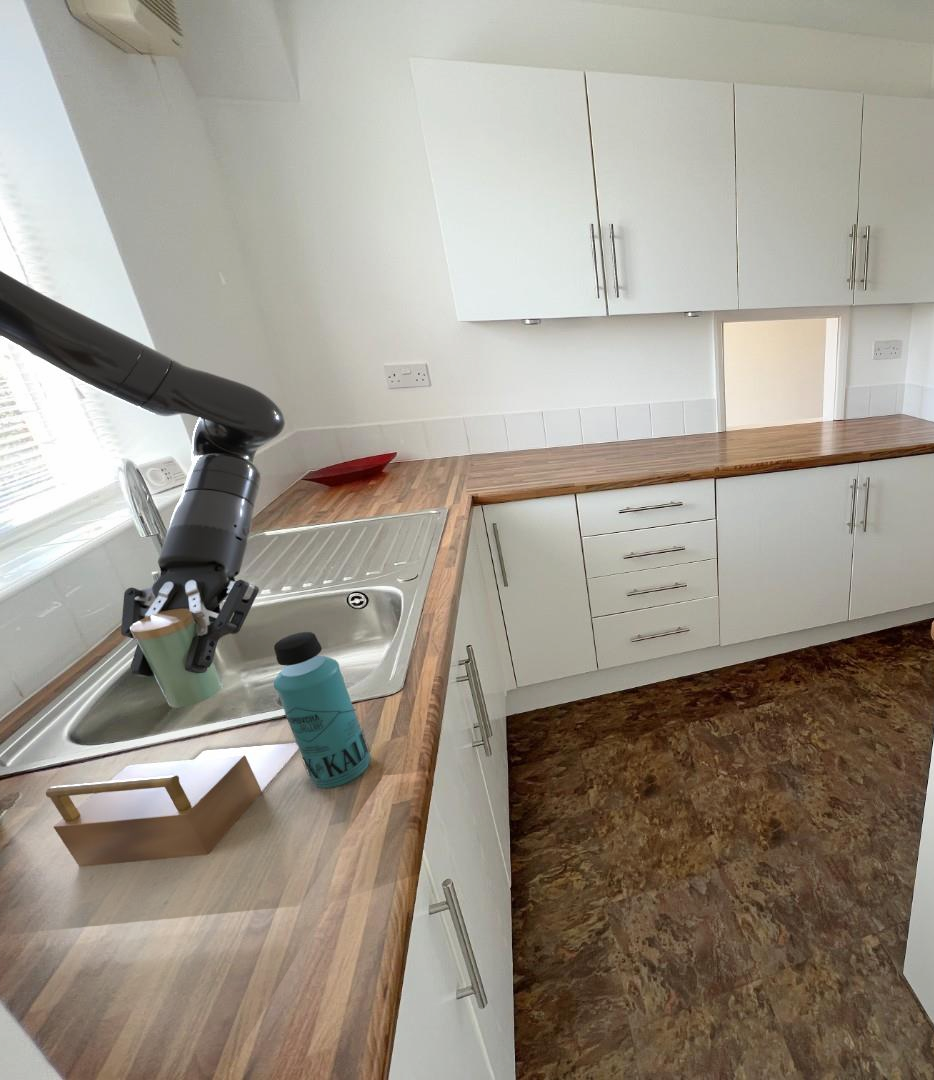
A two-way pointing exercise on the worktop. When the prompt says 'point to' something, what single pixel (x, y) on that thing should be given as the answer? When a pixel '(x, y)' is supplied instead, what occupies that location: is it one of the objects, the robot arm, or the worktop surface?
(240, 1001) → the worktop surface
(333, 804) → the worktop surface
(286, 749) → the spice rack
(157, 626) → the spice jar
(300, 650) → the beverage bottle
